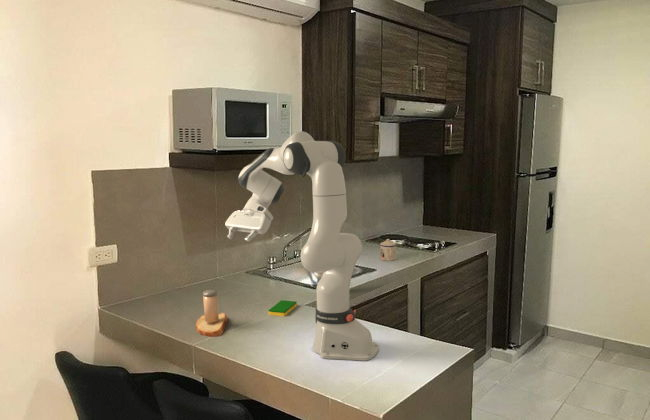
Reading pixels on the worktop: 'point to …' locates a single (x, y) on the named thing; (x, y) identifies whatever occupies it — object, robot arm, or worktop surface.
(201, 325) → the slice of bread
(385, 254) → the teacup with lid
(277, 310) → the dish sponge
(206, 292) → the grey-capped jar
